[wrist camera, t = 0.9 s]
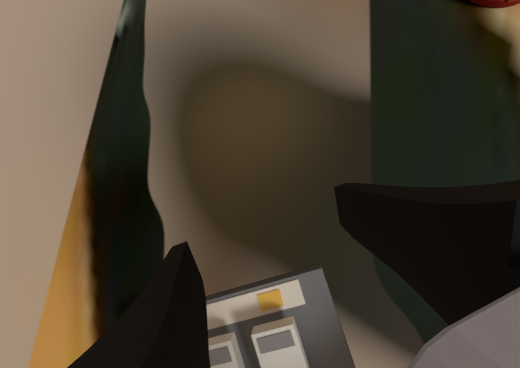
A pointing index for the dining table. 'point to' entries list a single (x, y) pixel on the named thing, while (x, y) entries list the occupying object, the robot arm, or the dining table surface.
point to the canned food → (496, 3)
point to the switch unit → (283, 316)
